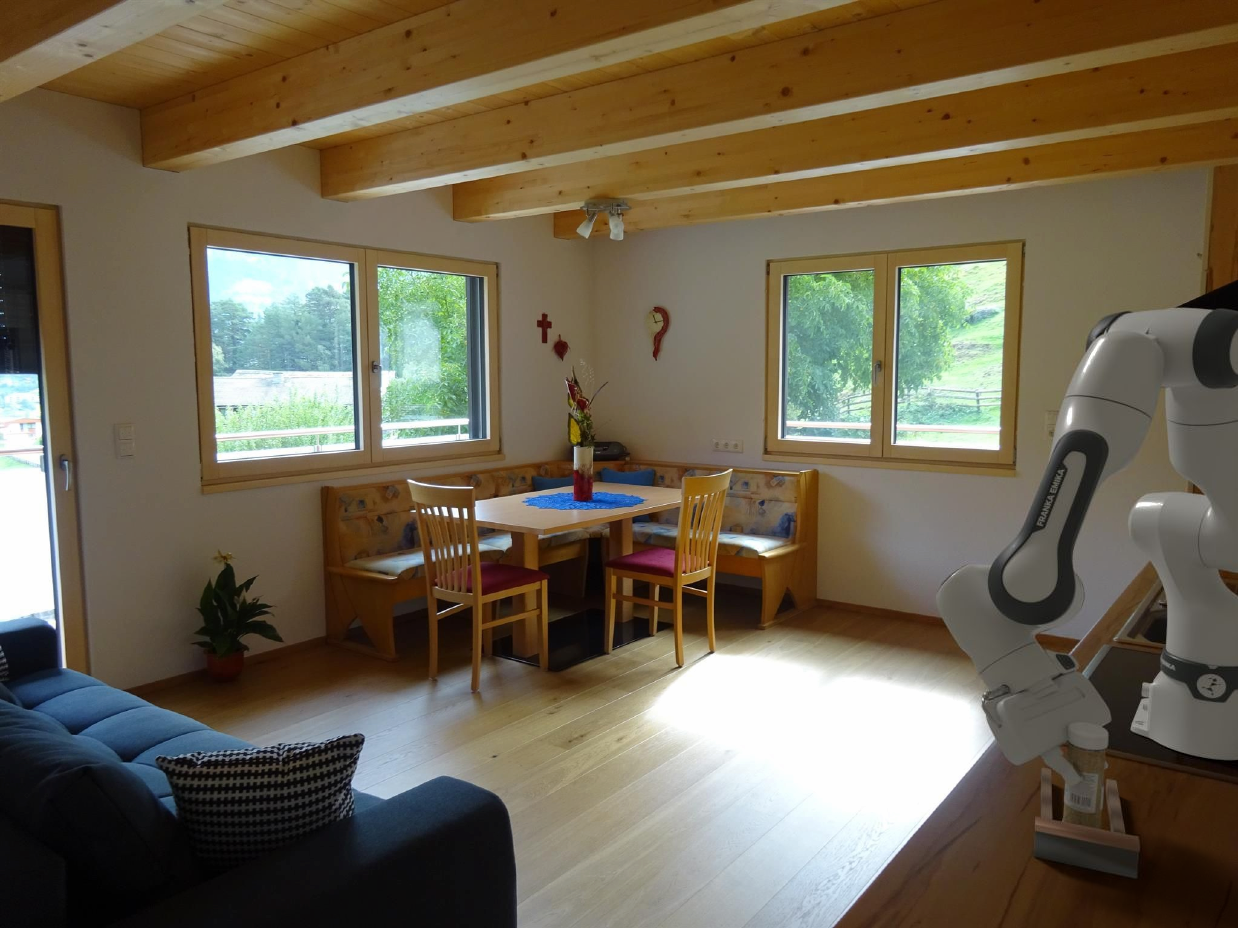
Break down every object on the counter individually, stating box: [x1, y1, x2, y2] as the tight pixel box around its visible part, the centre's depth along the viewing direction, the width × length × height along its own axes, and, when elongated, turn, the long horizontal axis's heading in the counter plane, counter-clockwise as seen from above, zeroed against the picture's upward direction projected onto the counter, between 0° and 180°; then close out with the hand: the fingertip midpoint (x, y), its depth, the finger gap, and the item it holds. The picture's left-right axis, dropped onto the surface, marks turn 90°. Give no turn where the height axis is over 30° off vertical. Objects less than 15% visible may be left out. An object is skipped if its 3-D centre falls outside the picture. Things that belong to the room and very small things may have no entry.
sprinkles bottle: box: [1061, 722, 1109, 829], centre depth 115 cm, size 5×5×14 cm
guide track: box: [1033, 767, 1141, 880], centre depth 119 cm, size 22×11×4 cm, turn 155°
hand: (1089, 776), depth 115 cm, fingers closed on sprinkles bottle, 4 cm apart
